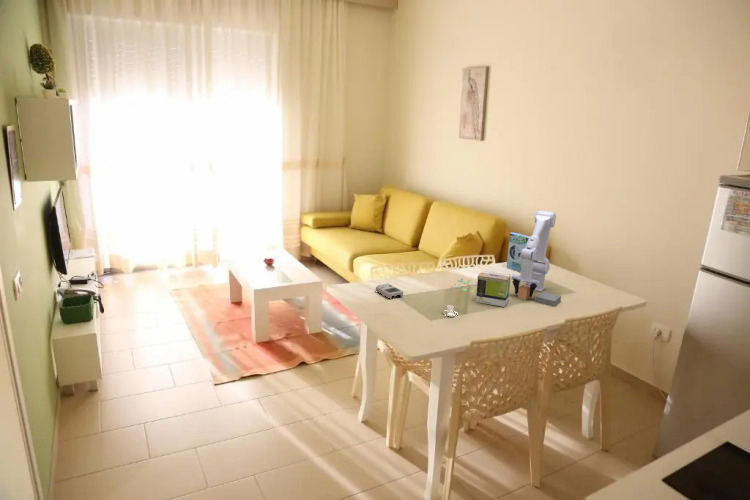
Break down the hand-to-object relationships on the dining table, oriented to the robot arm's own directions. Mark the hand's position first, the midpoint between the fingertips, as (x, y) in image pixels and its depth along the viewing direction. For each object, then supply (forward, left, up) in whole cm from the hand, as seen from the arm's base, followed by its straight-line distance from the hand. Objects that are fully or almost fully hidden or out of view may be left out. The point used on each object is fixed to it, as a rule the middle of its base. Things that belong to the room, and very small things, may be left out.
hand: (523, 295), depth 268 cm
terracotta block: (0, 0, -2) cm, 2 cm away
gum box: (-19, +43, -2) cm, 47 cm away
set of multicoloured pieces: (-32, -4, -2) cm, 32 cm away
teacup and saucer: (-20, -48, -2) cm, 52 cm away
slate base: (+12, +3, -1) cm, 12 cm away
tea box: (-10, -17, -2) cm, 20 cm away
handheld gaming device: (-57, -44, -2) cm, 72 cm away
